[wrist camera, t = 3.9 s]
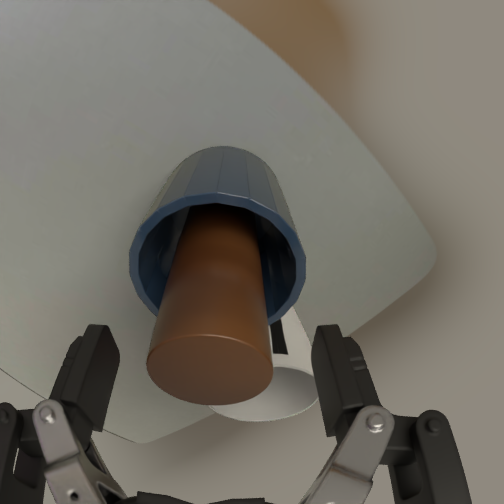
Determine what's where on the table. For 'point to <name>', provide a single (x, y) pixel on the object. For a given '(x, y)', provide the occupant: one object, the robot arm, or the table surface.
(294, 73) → the table surface
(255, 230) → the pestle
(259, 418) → the cup
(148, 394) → the table surface
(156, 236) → the crock
